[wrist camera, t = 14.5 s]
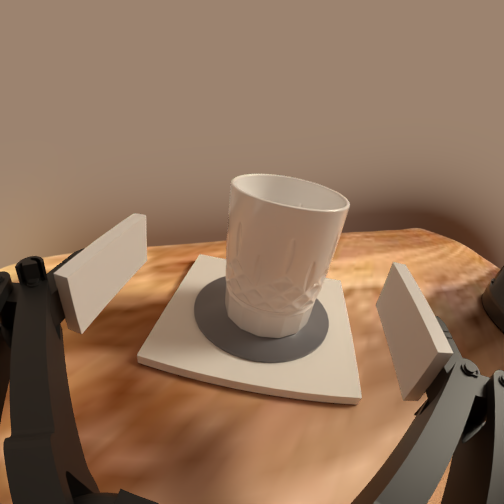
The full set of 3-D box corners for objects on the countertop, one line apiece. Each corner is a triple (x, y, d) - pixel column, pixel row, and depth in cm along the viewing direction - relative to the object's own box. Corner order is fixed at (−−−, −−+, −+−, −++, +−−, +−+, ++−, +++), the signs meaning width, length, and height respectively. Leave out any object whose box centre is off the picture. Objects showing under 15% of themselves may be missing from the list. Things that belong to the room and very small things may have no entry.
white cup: (283, 277, 28) (305, 175, 24) (333, 330, 22) (374, 210, 17) (204, 289, 25) (214, 172, 20) (242, 356, 18) (267, 211, 14)
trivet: (338, 286, 30) (341, 278, 30) (357, 404, 17) (363, 395, 16) (199, 260, 31) (200, 251, 30) (138, 362, 18) (136, 352, 17)
